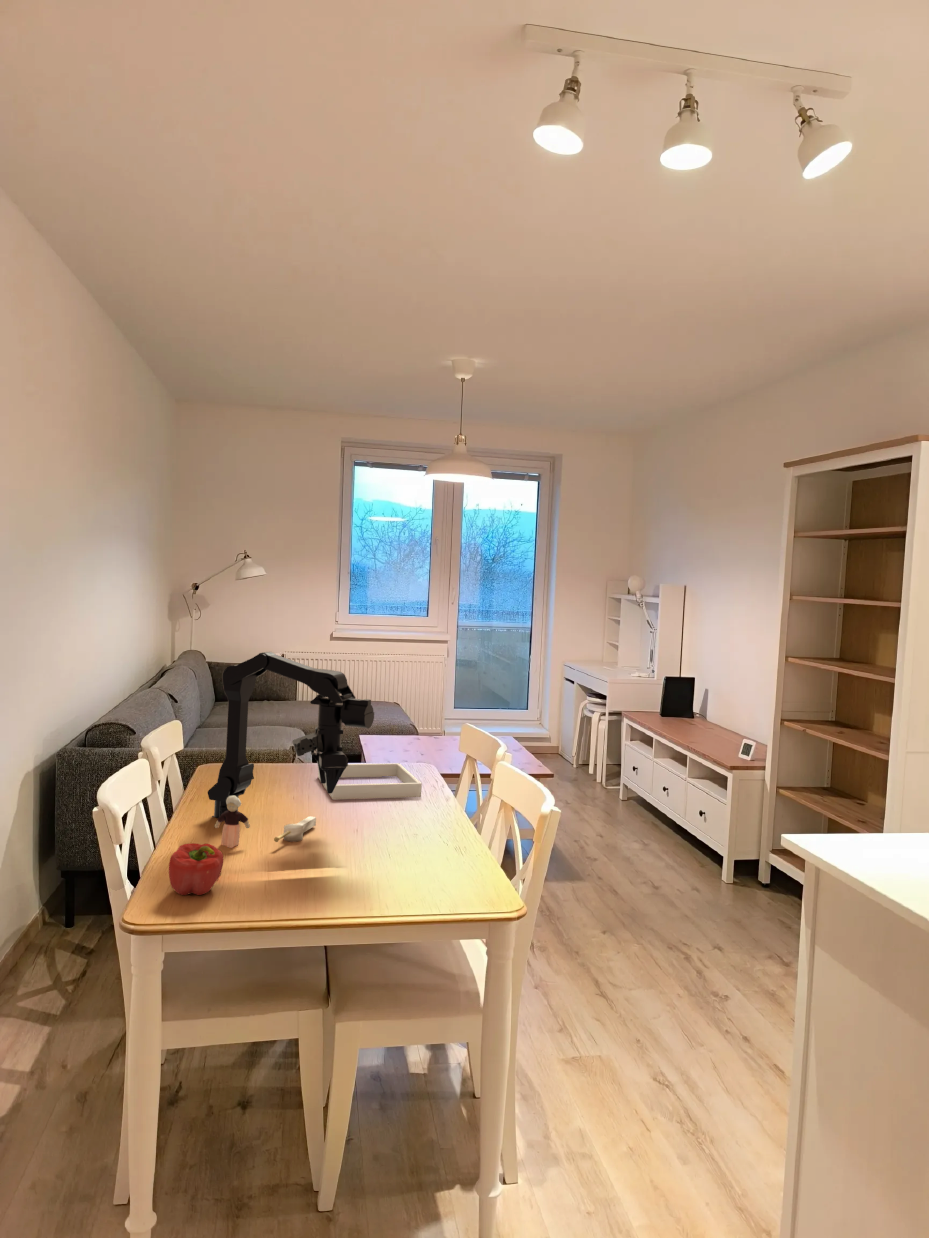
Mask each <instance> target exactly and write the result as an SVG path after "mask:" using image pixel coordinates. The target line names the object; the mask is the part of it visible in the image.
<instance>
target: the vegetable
mask: <svg viewBox="0 0 929 1238" xmlns="http://www.w3.org/2000/svg"><path fill="white" fill-rule="evenodd" d="M223 865H224V854H223V852H222V851H221V850H220V849H218V848H217V847H216V846H215V845H213V844H210V843H183V844H181V845H179V846H178V848H177V850H176V851H174V852H173V853H172V854H171V856H170V859H169V863H168V876H169V883H170V886H171V888H172V889H173V890H174V892H176V893H177V894H178V895H180V896H186V895H187V896H188V895H189V894H194V895H196V896H201V895H204V894H206V893H209V892H210V891H211V889H212V888H213V886H214V884H216V882H217V881H218V880H219V878H220V876H221V873H222V869H223Z"/></svg>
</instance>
